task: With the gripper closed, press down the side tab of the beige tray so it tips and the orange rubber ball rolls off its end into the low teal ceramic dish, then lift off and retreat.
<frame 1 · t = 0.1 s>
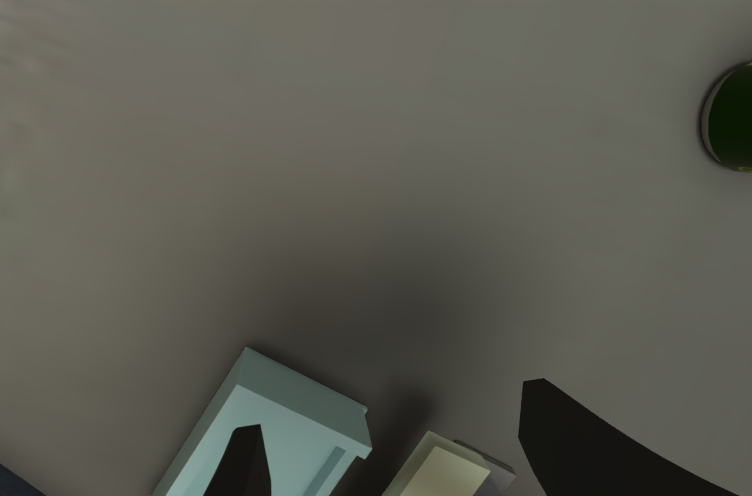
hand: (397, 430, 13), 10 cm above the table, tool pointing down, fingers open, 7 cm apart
beer can: (740, 116, 24), on the table
dish: (263, 451, 24), on the table
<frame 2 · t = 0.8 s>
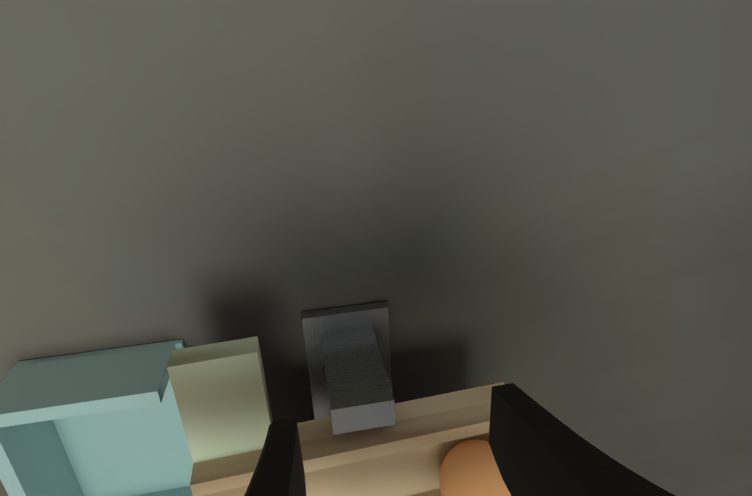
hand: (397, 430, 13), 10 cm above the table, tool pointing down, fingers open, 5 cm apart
ball: (479, 481, 20), point 6 cm above the table, tilted 15°, touching beige tray
stand: (351, 394, 25), on the table
dish: (131, 428, 23), on the table
beige tray: (365, 440, 19), point 5 cm above the table, hinge at -3.0°, touching ball
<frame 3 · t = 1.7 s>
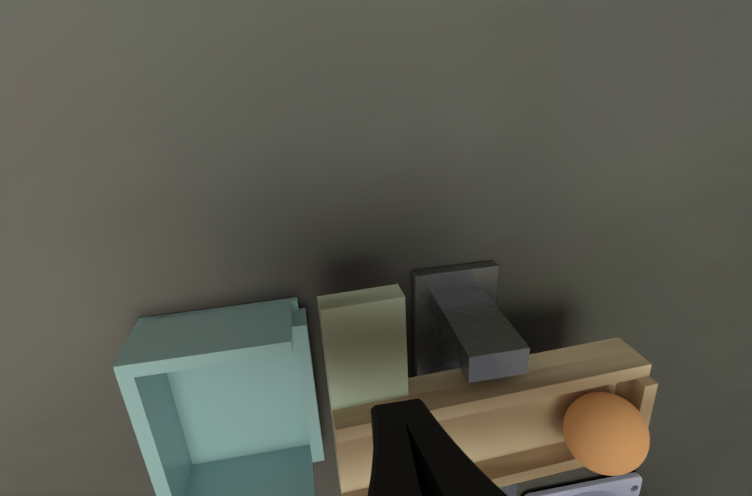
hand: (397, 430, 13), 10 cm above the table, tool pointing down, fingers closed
ball: (604, 432, 20), point 6 cm above the table, tilted 15°, touching beige tray
stand: (452, 356, 25), on the table
dish: (240, 388, 23), on the table
beige tray: (494, 390, 19), point 5 cm above the table, hinge at -3.0°, touching ball
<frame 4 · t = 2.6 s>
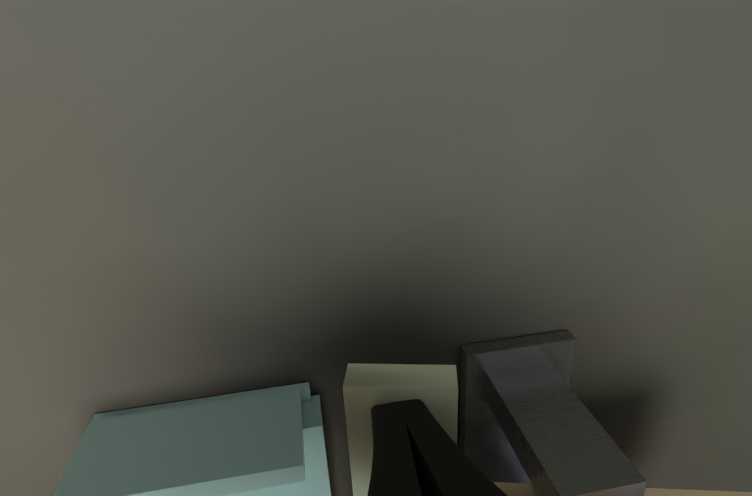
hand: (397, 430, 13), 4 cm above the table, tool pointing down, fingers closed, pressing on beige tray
stand: (506, 446, 19), on the table
dish: (232, 495, 18), on the table
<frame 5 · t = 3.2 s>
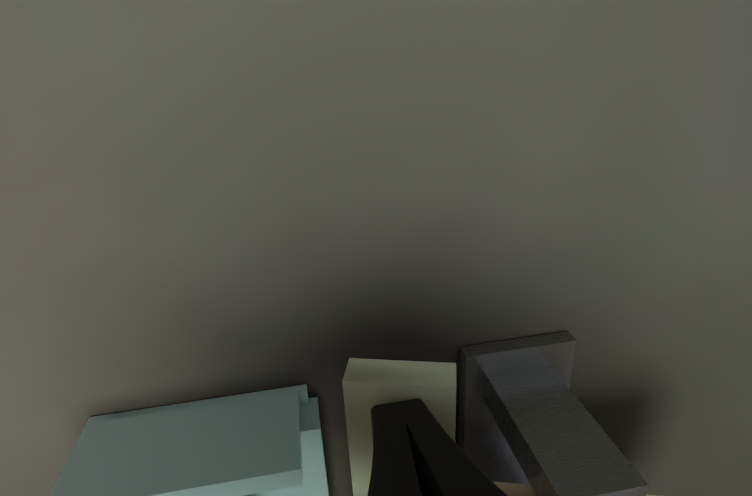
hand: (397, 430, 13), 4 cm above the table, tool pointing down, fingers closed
stand: (506, 448, 19), on the table
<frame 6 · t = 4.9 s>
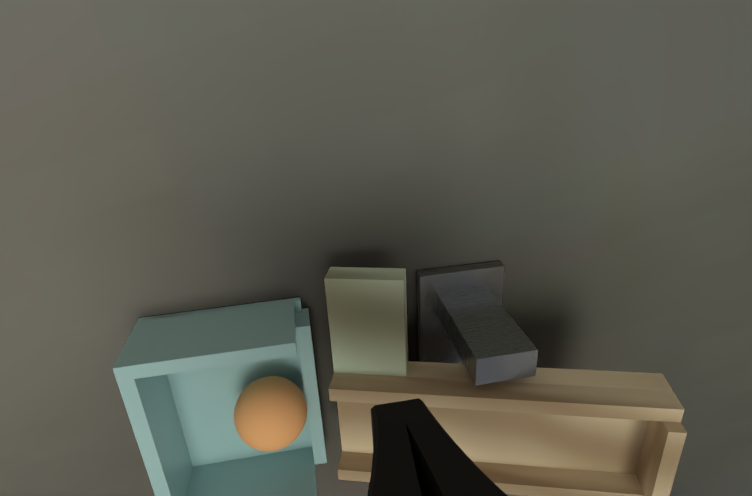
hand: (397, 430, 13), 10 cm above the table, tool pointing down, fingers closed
ball: (271, 412, 22), point 2 cm above the table, tilted 162°, touching dish
stand: (456, 357, 25), on the table
dish: (241, 389, 23), on the table
beige tray: (494, 393, 19), point 5 cm above the table, hinge at 18.1°
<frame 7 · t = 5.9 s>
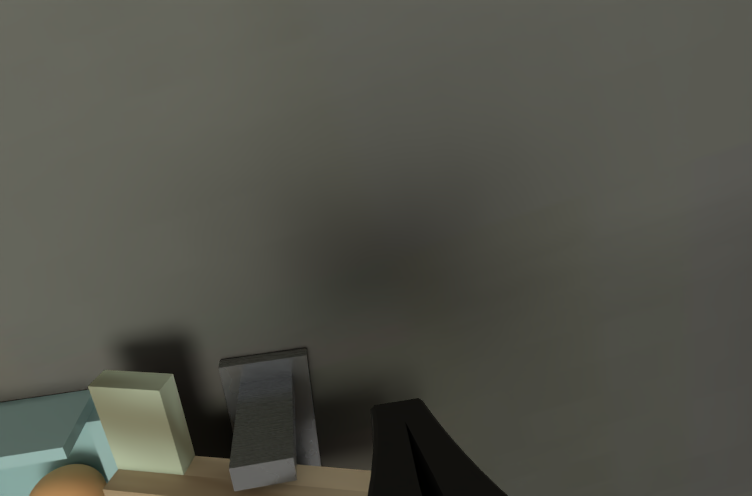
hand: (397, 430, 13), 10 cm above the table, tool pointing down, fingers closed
stand: (278, 436, 25), on the table
dish: (56, 473, 24), on the table
beige tray: (263, 494, 19), point 5 cm above the table, hinge at 18.1°
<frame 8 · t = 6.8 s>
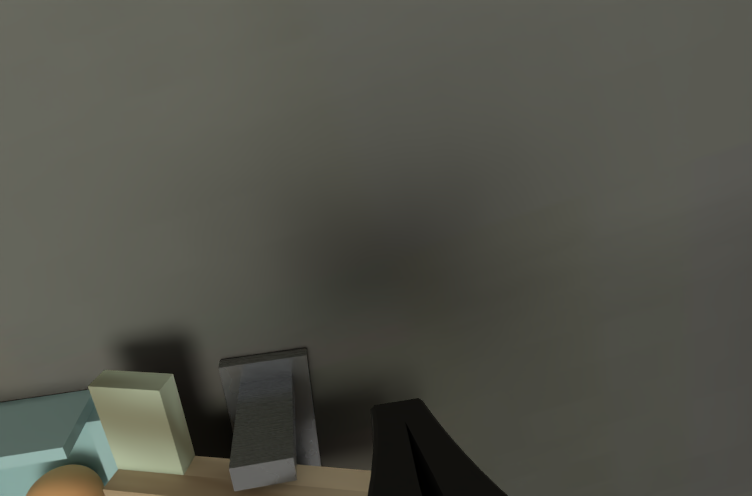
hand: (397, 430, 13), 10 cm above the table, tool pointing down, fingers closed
stand: (278, 436, 25), on the table
dish: (56, 473, 24), on the table
beige tray: (263, 494, 19), point 5 cm above the table, hinge at 18.1°
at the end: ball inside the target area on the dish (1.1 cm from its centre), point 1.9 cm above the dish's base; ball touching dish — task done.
